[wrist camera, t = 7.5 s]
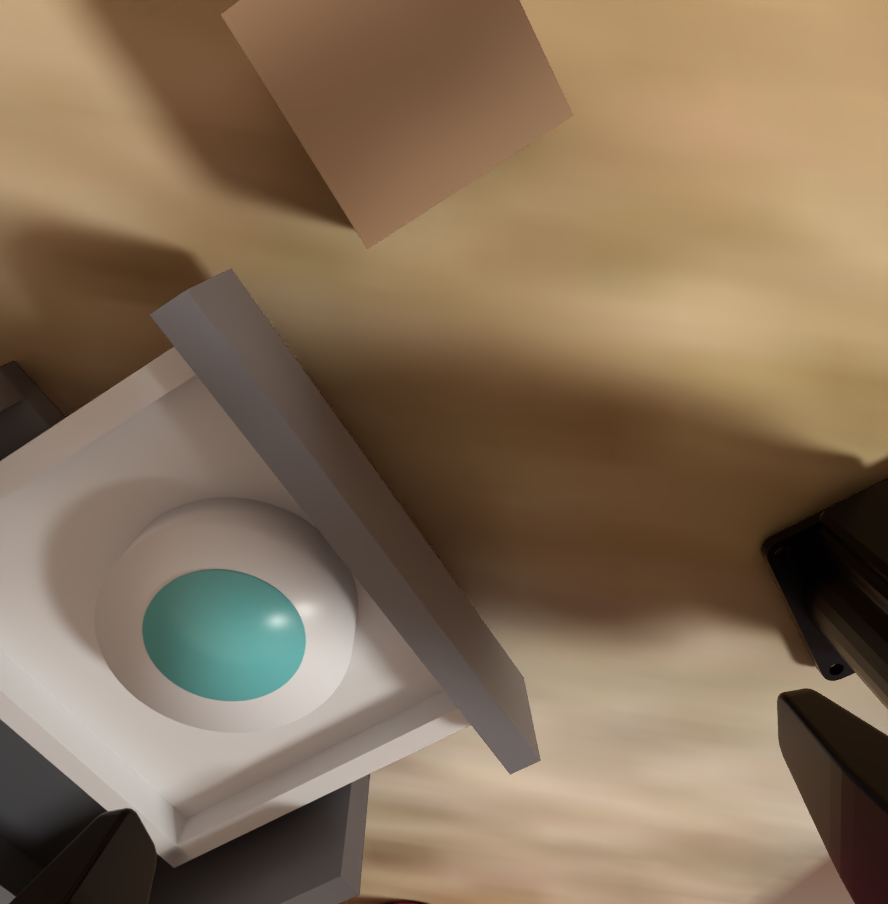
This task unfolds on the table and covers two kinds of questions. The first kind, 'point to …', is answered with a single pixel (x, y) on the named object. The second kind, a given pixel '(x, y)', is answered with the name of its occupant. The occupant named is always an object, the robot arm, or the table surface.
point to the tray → (233, 476)
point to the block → (401, 94)
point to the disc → (228, 616)
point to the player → (72, 810)
